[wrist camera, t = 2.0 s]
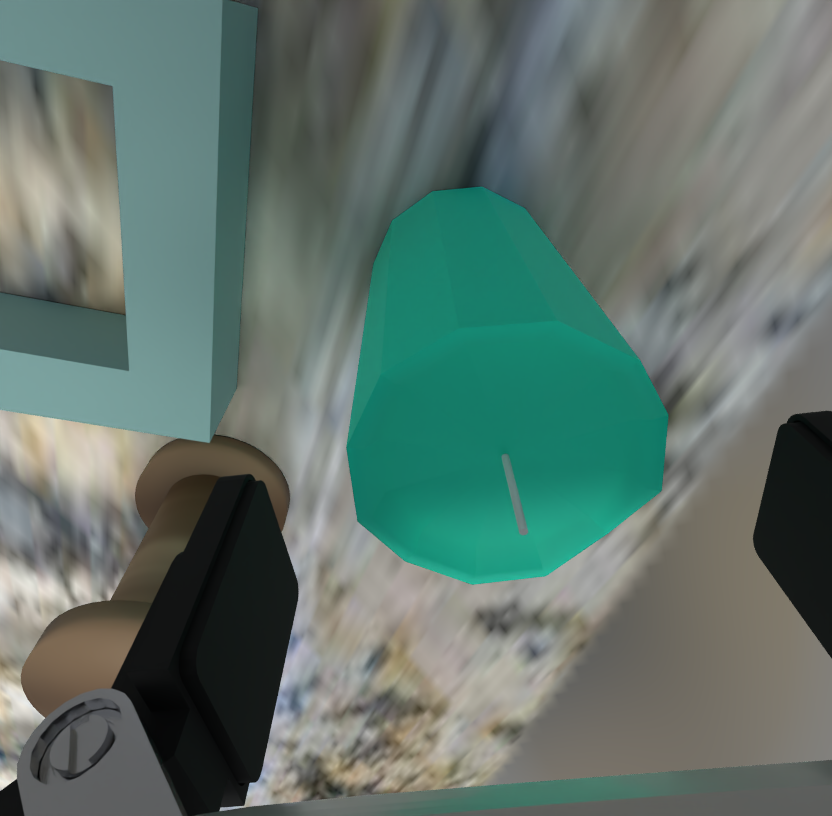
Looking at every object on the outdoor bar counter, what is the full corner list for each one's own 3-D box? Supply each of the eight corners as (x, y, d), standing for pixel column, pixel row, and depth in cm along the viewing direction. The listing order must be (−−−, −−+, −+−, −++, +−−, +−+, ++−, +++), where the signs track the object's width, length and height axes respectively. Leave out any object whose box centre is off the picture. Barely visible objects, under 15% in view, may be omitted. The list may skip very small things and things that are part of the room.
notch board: (-111, -86, 14) (-248, -122, 11) (258, 8, 15) (222, -2, 12) (-20, 344, 20) (-93, 394, 17) (236, 388, 21) (209, 443, 18)
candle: (409, 377, 21) (412, 675, 11) (344, 225, 18) (268, 443, 8) (566, 326, 20) (728, 603, 10) (525, 155, 17) (697, 305, 7)
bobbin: (121, 443, 23) (-22, 642, 15) (268, 426, 22) (198, 621, 15) (174, 550, 26) (78, 758, 18) (304, 536, 26) (261, 743, 18)
